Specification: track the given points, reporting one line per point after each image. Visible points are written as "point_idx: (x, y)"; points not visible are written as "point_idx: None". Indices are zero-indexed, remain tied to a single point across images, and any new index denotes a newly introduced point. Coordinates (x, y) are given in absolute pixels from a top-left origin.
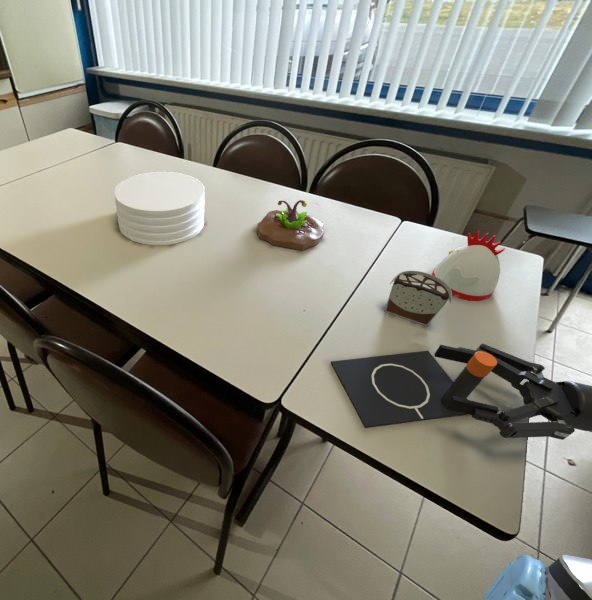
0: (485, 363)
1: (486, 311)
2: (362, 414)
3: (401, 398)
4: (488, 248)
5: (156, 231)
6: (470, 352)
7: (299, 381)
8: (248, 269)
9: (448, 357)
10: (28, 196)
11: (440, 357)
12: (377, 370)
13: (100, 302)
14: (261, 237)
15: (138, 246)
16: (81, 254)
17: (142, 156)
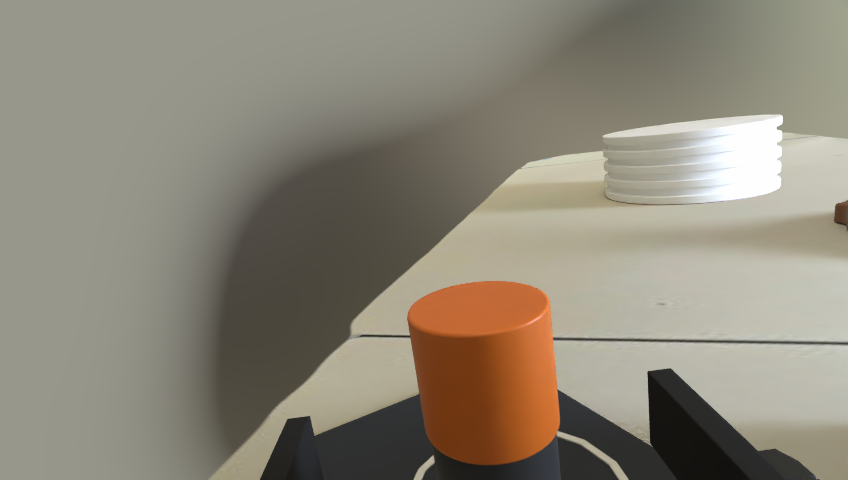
0: (423, 304)
1: None
2: (345, 429)
3: None
4: None
5: (625, 177)
6: (763, 477)
7: None
8: (696, 241)
9: (681, 470)
10: (594, 166)
11: (662, 457)
12: None
13: (463, 221)
14: (837, 216)
15: (599, 200)
16: (534, 197)
17: (832, 144)
